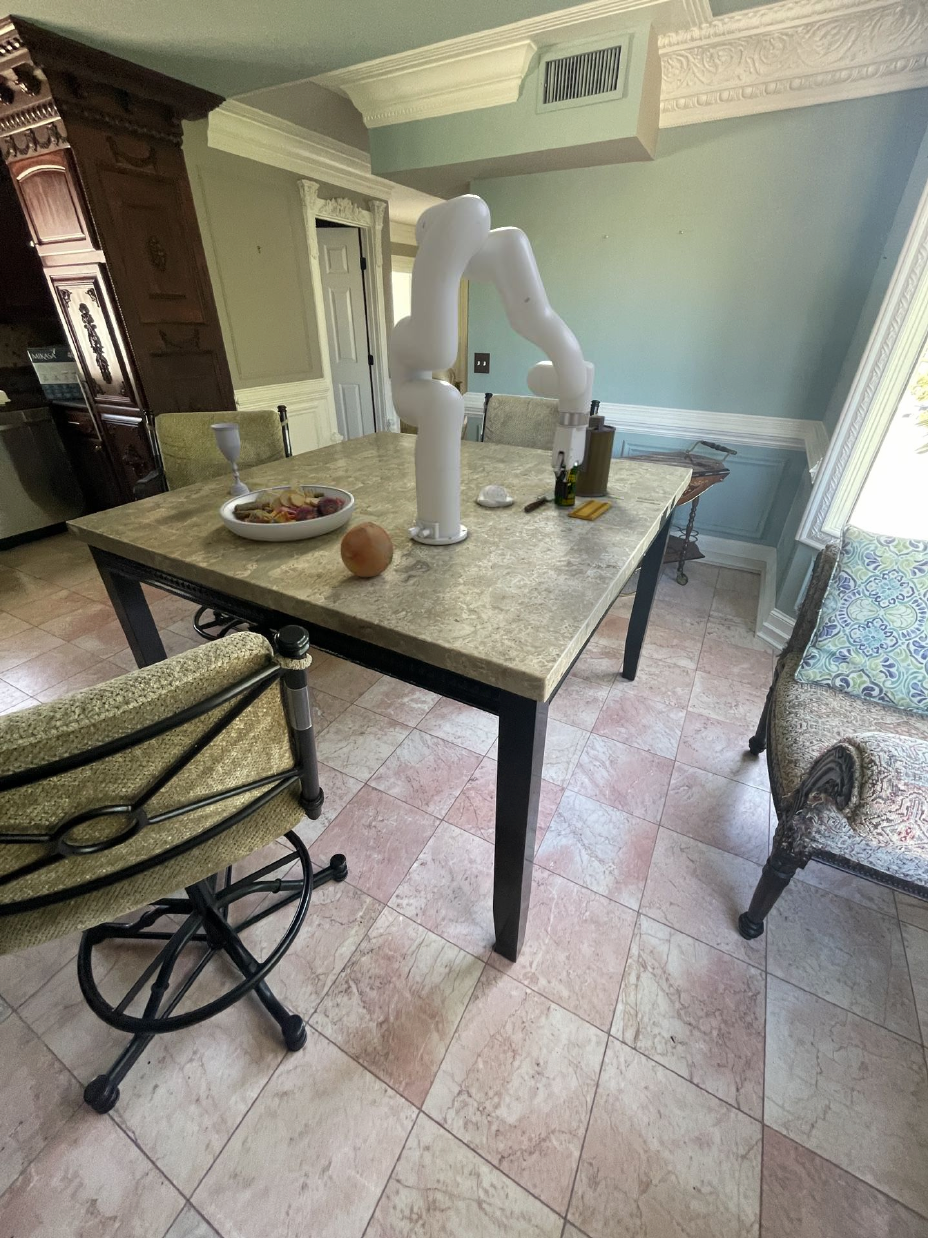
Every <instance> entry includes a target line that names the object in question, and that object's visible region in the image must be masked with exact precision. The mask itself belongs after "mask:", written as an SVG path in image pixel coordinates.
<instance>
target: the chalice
mask: <svg viewBox="0 0 928 1238" xmlns="http://www.w3.org/2000/svg"><path fill="white" fill-rule="evenodd" d="M210 427H211V429H212V430H213V433H214V437H215V440H216V445H217V447H218V449H219V451H220V452H221V453H222V455H223V456H224V458H225V459H226V460H227V461H228V462H230V463H231V469H232V471H233V474H232V476H233V477H234V480H235V482H234V483H233V484H232V486H231V488H230V489H231V490H230V494H231V495H233V496H240V495H243V494H246V493H250V492H251V491H250V490H249V489H248V486H247V485H246V484H245V483H243V482H242V481H240V474H239V472H238V469H239V467H238V466H237V464H236V461H238V459H239V457H240V452H241V445H242V442H241V437H240V434H239V429H238V428H239V423H237V422H224V423H223V422H222V423H215V424H211V425H210Z"/></svg>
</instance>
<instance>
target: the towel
mask: <svg viewBox="0 0 928 1238" xmlns="http://www.w3.org/2000/svg"><path fill="white" fill-rule="evenodd" d="M611 506H612V503H610V502H606V501H604V502H603V501H597V500H595V499H588V500H587V501H585V502H584V503H582V504H580V505H578V507H576V508H574V509H573V510H571V511H570V512H569V513H568V516H569V517H573V518H577V519H582V520H587V521H593V520H595V519H596V518H598V517H599V516H600V515H601V514H603V513H604V512H606V511H607V510H609V508H611Z"/></svg>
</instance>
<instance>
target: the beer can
mask: <svg viewBox="0 0 928 1238" xmlns="http://www.w3.org/2000/svg"><path fill="white" fill-rule="evenodd" d="M565 467H566V466H562V467H561V468H565ZM565 469H566V468H565ZM578 471H579V460H577V461H576V463H575V464H574V466H573V468H572V469H570V470H569V473H568V478H567V482H568V489H567V497H566V498H562V497H557V496H554V501H553V505H554V507H555V508H556V509H560V510H571V509H573V508H574V507H575V505H576V496H577V495H576V489H577V480H578ZM561 472H563V474H565V471H561Z"/></svg>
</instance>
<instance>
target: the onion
mask: <svg viewBox="0 0 928 1238" xmlns="http://www.w3.org/2000/svg"><path fill="white" fill-rule="evenodd" d="M340 542H341V543H340V558H341V561H342V563H343V565H344V566H345V568H346V569H347V570H348V571H349V572H350V573H352V574H354V575H355V576H357V577H359V578H368V579H369V578H373V577H376V576H378V575H380V574H382V573H383V572H385V571H386V570H387V569H388V568H389V566H390V565H391V563H392V561H393V559H394V545H393V542H392V539H391V537H390V535H389V533H387V531H386V530H385V528H384V527H382V526H380V525H378V524H377V523H374V522H372V521H365V522H361V523H358V524H355V525H354V526H353V527H351V528H350V529H349V530H348V531H347V532H346V533H345V534H344V536H343V538H342V540H341V541H340Z"/></svg>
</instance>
